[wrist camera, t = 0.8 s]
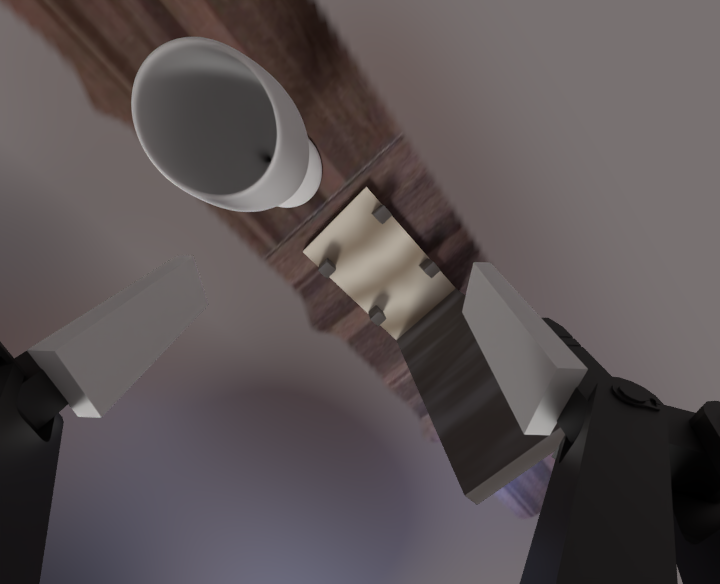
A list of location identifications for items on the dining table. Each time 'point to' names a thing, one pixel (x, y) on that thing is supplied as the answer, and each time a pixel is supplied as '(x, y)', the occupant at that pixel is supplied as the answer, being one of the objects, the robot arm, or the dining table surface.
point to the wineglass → (223, 127)
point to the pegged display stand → (430, 344)
